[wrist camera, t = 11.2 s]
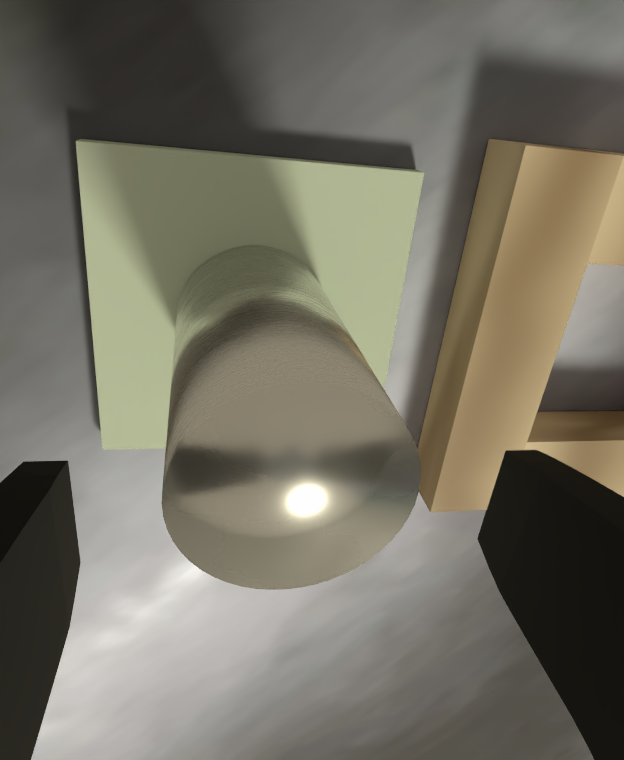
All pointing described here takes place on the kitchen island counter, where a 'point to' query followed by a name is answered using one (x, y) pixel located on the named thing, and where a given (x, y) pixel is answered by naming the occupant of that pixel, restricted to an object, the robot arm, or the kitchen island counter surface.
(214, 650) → the kitchen island counter surface
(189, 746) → the kitchen island counter surface
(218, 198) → the sage mat
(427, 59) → the kitchen island counter surface
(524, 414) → the bore block
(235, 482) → the polished metal cylinder
